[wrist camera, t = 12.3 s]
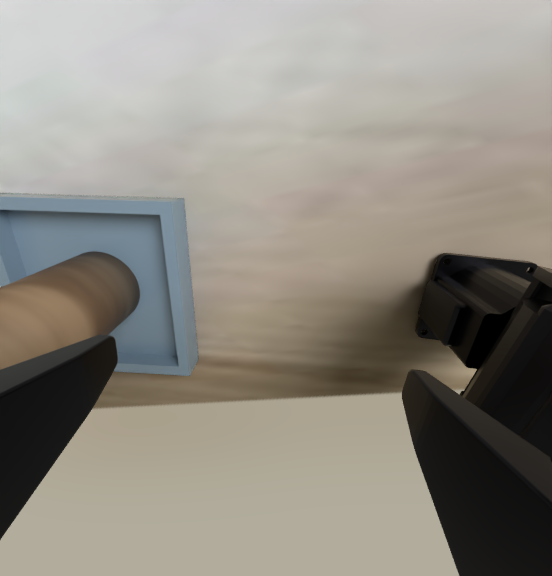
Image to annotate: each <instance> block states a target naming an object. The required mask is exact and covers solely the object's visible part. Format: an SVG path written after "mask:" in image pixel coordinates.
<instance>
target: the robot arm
mask: <svg viewBox="0 0 552 576" xmlns="http://www.w3.org/2000/svg"><path fill="white" fill-rule="evenodd" d="M446 258H448V262H447V263H443V261H444V260H445V259H446ZM529 267H530V269H529V271H527V272H526V270H527V268H529ZM418 314H419V319H418V323H417V326H416V329H415V331H416V333H417V335H418V336H419V337H421V338H426V339H435V340H440V341H441V342H442V343H443V345H445V346H449V347H450V348H451V349H452V351H453V352H454V353H455V354H456V355H457V356H458V358H459V359H460V360H461V361H462V362H463V363H464V365H465V366H466V367H468V368H475V369H477V371H476V372H475V374H474V376H473V377H472V379H471V380H470V382H469V384H468V385H467V387H466V389H465V390H464V391H461V393H460V395H459V394H458V393H456V392H455V391H453V390H452V389H450V388H449V387H447V386H446V385H444V384H443V383H442V382H440V381H439V380H437V379H436V378H434V377H433V376H431V375H430V374H428V373H427V372H425V371H421V370H410V371H409V372H408V375H407V378H406V381H405V384H404V387H403V391H402V400H403V404H404V408H405V413H406V417H407V421H408V425H409V429H410V434H411V437H412V442H413V445H414V449H415V452H416V455H417V458H418V461H419V463H420V466H421V469H422V472H423V474H424V478H425V480H426V483H427V486H428V489H429V492H430V494H431V497H432V500H433V503H434V506H435V509H436V511H437V514H438V517H439V520H440V523H441V525H442V528H443V531H444V534H445V537H446V539H447V542H448V545H449V548H450V551H451V553H452V556H453V559H454V562H455V565H456V568H457V570H458V573H459V576H552V269H549V268H545V267H541V266H537V265H536V264H534V263H532V262H528V261H519V260H509V259H500V258H490V257H481V256H471V255H462V254H452V253H443V254H441V255H440V256H439V257H438V259H437V261H436V265H435V268H434V271H433V274H432V278H431V281H429V282H428V283H427V286H426V289H425V292H424V295H423V299H422V302H421V305H420V308H419V312H418ZM423 329H426V330H425V332H422V333H421V331H422V330H423ZM117 363H118V354H117V347H116V340H115V338H114V337H113V336H110V335H97V336H94V337H91V338H88V339H85V340H82V341H80V342H77V343H74V344H71V345H68V346H66V347H63V348H60V349H57V350H54V351H51V352H49V353H46V354H43V355H40V356H37V357H35V358H32V359H29V360H26V361H23V362H20V363H18V364H15V365H12V366H9V367H6V368H3V369H1V370H0V539H1V538H2V536H3V535H4V534H5V532H6V531H7V529H8V528H9V527H10V525H11V524H12V522H13V521H14V519H15V518H16V516H17V515H18V514H19V512H20V511H21V509H22V508H23V507H24V505H25V504H26V502H27V501H28V499H29V498H30V497H31V495H32V494H33V492H34V491H35V490H36V488H37V487H38V485H39V484H40V482H41V481H42V480H43V478H44V477H45V475H46V474H47V473H48V471H49V470H50V468H51V467H52V465H53V464H54V463H55V461H56V460H57V458H58V457H59V456H60V454H61V453H62V451H63V450H64V448H65V447H66V446H67V444H68V443H69V441H70V440H71V439H72V437H73V436H74V434H75V433H76V431H77V430H78V429H79V427H80V426H81V424H82V423H83V421H84V420H85V419H86V417H87V416H88V414H89V413H90V411H91V410H92V408H93V406H94V405H95V403H96V401H97V400H98V398H99V396H100V394H101V393H102V391H103V389H104V387H105V385H106V384H107V382H108V380H109V378H110V377H111V375H112V373H113V371H114V369H115V368H116V366H117Z"/></svg>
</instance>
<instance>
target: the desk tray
mask: <svg viewBox="0 0 552 576" xmlns="http://www.w3.org/2000/svg"><path fill="white" fill-rule="evenodd" d="M92 251H96V252H104V253H107V254H110V255H112V256H114V257H116V258H118V259H119V260H121V261H122V262H124V263H125V264H126V265H127V266H128V267H129V268H130V269H131V271H132V272H133V274H134V275H135V277H136V279H137V281H138V284H139V289H140V299H139V303H138V305H137V307H136V309H135V310H134V311H133V312H132V313H131V314H130V315H129V316H128V317H127V318H126V319H125V320H124V321H123V322H122V323H121V324H119V325H118V326H117V327H116V328H115V329H114V330H113V331H112V332H111V333H110V334H109V335H110V336H113V337H114V338H115V340H116V347H117V354H118V363H117V366H116V368H115V369H114V371H115V372H132V373H149V374H166V375H183V376H190V375H191V373H192V371H193V369H194V367H195V365H196V363H197V361H198V359H199V358H198V347H197V336H196V325H195V314H194V303H193V293H192V282H191V271H190V260H189V249H188V238H187V227H186V216H185V205H184V198H155V197H121V196H88V195H54V194H20V193H0V286H1V287H3V286H5V285H8V284H10V283H12V282H15V281H17V280H20V279H22V278H24V277H27V276H29V275H32V274H34V273H37V272H39V271H41V270H44V269H46V268H49V267H51V266H53V265H56V264H58V263H61V262H63V261H66V260H68V259H70V258H73V257H75V256H78V255H80V254H82V253H86V252H92Z"/></svg>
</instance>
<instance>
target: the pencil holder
mask: <svg viewBox="0 0 552 576" xmlns="http://www.w3.org/2000/svg"><path fill="white" fill-rule="evenodd" d="M139 299H140V289H139V284H138V281H137V279H136V277H135V275H134V274H133V272H132V271H131V269H130V268H129V267H128V266H127V265H126V264H125V263H124V262H122V261H121V260H119V259H118V258H116V257H114V256H112V255H110V254H107V253H104V252H96V251H92V252H86V253H82V254H80V255H78V256H75V257H73V258H70V259H68V260H66V261H63V262H61V263H58V264H56V265H53V266H51V267H49V268H46V269H44V270H41V271H39V272H37V273H34V274H32V275H29V276H27V277H24V278H22V279H20V280H17V281H15V282H12V283H10V284H8V285H5V286H3V287H0V370H1V369H3V368H6V367H9V366H12V365H15V364H18V363H20V362H23V361H26V360H29V359H32V358H35V357H37V356H40V355H43V354H46V353H49V352H51V351H54V350H57V349H60V348H63V347H66V346H68V345H71V344H74V343H77V342H80V341H82V340H85V339H88V338H91V337H94V336H97V335H109V334H110V333H111V332H112V331H113V330H114V329H115V328H116V327H117V326H118V325H119V324H121V323H122V322H123V321H124V320H125V319H126V318H127V317H128V316H129V315H130V314H131V313H132V312H133V311H134V310H135V309H136V307H137V305H138V303H139Z"/></svg>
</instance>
